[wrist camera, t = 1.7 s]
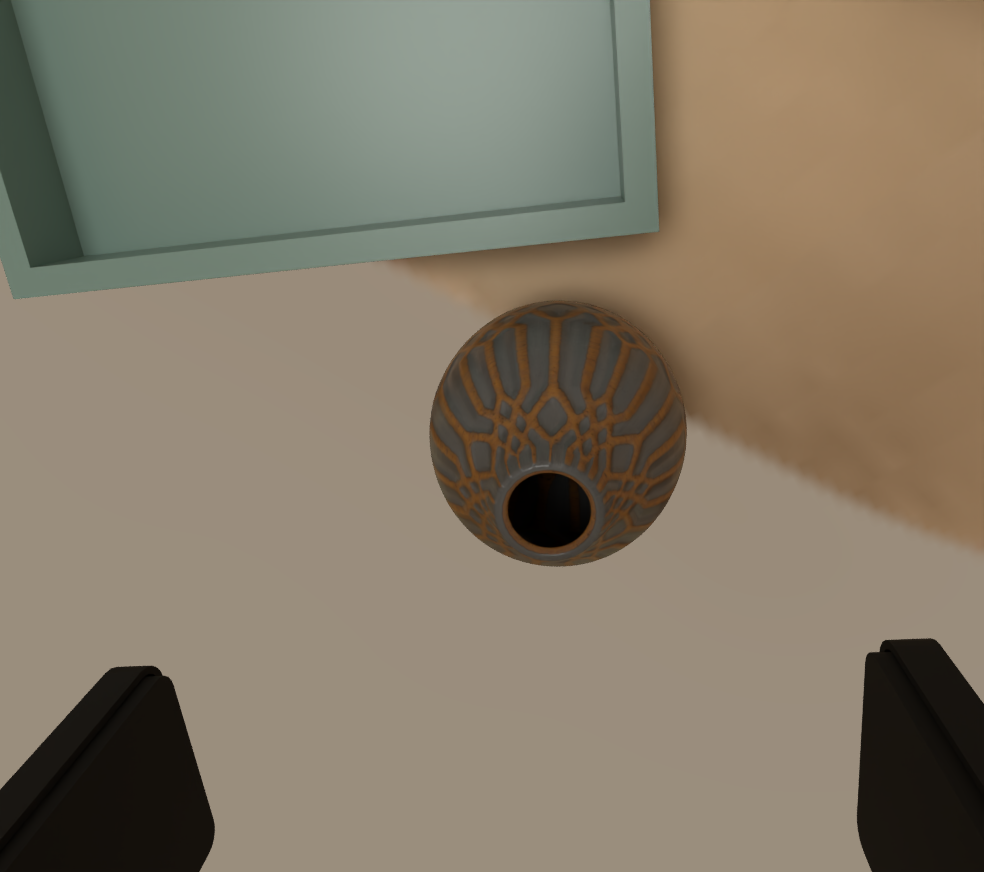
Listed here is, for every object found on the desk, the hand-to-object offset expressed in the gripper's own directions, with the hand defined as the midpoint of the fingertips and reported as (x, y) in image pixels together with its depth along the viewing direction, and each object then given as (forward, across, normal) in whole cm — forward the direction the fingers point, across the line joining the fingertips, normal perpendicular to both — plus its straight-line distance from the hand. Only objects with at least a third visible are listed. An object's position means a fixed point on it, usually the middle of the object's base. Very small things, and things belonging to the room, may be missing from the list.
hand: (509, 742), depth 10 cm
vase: (+16, 0, 0) cm, 16 cm away
